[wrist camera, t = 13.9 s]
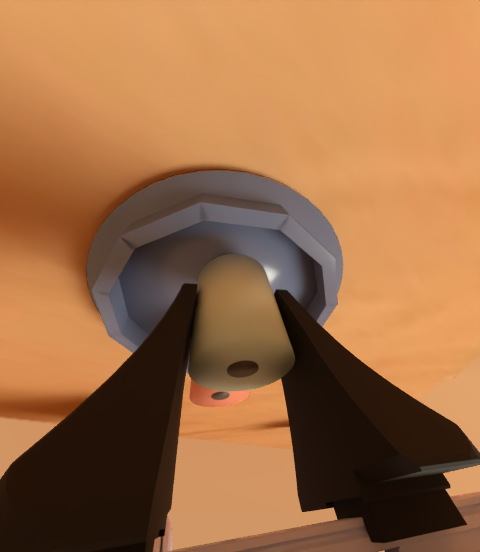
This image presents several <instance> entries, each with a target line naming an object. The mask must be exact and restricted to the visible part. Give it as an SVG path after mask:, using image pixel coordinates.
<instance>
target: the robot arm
mask: <svg viewBox="0 0 480 552" xmlns="http://www.w3.org/2000/svg"><path fill="white" fill-rule="evenodd" d="M274 297H275V300H276V303H277V306H278V309H279V311H280V314H281V317H282V320H283V323H284V326H285V329H286V332H287V334H288V337H289V340H290V343H291V346H292V349H293V352H294V355H295V363H294V365H293V367H292V369H291V370H290V371H289V372H288V373H287V374H286V375H285V376H283V377H282V378H281V380H282V384H283V389H284V395H285V400H286V406H287V412H288V418H289V424H290V431H291V438H292V445H293V453H294V462H295V471H296V479H297V490H298V497H299V502H300V506H301V510H302V512H307V511H314V510H320V509H327V508H333V507H334V510H335V513H336V516H337V519H338V520H334V521H329V522H324V523H318V524H312V525H307V526H301V527H296V528H291V529H285V530H280V531H274V532H269V533H263V534H258V535H253V536H247V537H242V538H237V539H231V540H226V541H220V542H215V543H210V544H204V545H198V546H193V547H188V548H182V549H177V550H172V528H171V523H170V521H169V519H168V516H167V514H168V512H169V511H170V509H171V504H172V494H173V484H174V474H175V463H176V454H177V445H178V436H179V426H180V417H181V408H182V399H183V390H184V382H185V376H186V371H187V366H188V360H189V355H190V349H191V340H192V331H193V321H194V314H195V307H196V298H197V284H190V283H184V284H183V285H182V286H181V289H180V291H179V293H178V294H177V296H176V298H175V300H174V301H173V303H172V304H171V306H170V307H169V309H168V310H167V312H166V313H165V315H164V316H163V318H162V319H161V320H160V322H159V323H158V324H157V325H156V327H155V328H154V329H153V331H152V332H151V333H150V334H149V336H148V337H147V338H146V339H145V340H144V342H143V343H142V344H141V345H140V346H139V347H138V348H137V350H136V351H135V352H134V353H133V354H132V355H131V356H130V357H129V358H128V359H127V360H126V361H125V362H124V363H123V364H122V366H121V367H120V368H119V369H118V370H117V371H116V372H115V373H114V374H113V375H112V376H111V377H110V378H109V379H108V380H107V381H106V382H105V383H103V384H102V385H101V386H100V387H99V388H98V389H97V390H96V391H95V392H94V393H93V394H92V395H90V396H89V397H88V398H87V399H86V400H85V401H84V402H83V403H82V404H81V405H80V406H78V407H77V408H76V409H75V410H74V411H73V412H72V413H71V414H70V415H68V416H67V417H66V418H65V419H64V420H63V421H61V422H60V423H59V424H58V425H57V426H55V427H54V428H53V429H52V430H51V431H50V432H48V433H47V434H46V435H45V436H44V437H42V439H40V440H39V441H38V442H36V443H35V444H34V445H33V446H32V447H30V448H29V449H28V450H27V451H26V452H25V453H23V454H22V455H21V456H20V457H19V458H17V459H16V460H15V461H14V462H13V463H12V464H11V465H10V466H9V468H8V469H7V471H6V472H5V473H4V475H3V476H2V478H1V479H0V552H378V551H383V550H385V552H480V492H477V493H469V494H463V495H457V496H452V497H450V496H449V495H448V493H447V491H446V490H445V489H447V488H450V484H449V482H448V481H447V479H446V478H445V476H444V475H443V473H445V472H450V471H455V470H459V469H464V468H468V467H472V466H476V465H480V453H479V451H478V450H477V449H476V448H475V446H474V445H473V444H472V442H471V441H470V440H469V439H468V437H467V436H466V435H465V434H464V433H463V431H462V430H461V429H460V428H459V426H458V425H456V424H455V423H453V422H452V421H450V420H448V419H447V418H445V417H444V416H442V415H440V414H439V413H437V412H435V411H433V410H432V409H430V408H429V407H427V406H425V405H424V404H422V403H420V402H419V401H417V400H416V399H414V398H413V397H411V396H410V395H408V394H407V393H405V392H404V391H402V390H401V389H399V388H398V387H396V386H395V385H393V384H392V383H390V382H389V381H387V380H386V379H384V378H383V377H382V376H380V375H379V374H378V373H376V372H375V371H374V370H372V369H371V368H370V367H368V366H367V365H365V364H364V363H363V362H362V361H360V360H359V359H358V358H357V357H355V356H354V355H353V354H352V353H350V352H349V351H348V350H347V349H346V348H345V347H343V346H342V345H341V344H340V343H339V342H338V341H336V340H335V339H334V338H333V337H332V336H331V335H330V334H329V333H328V332H327V331H326V330H325V329H324V328H323V327H322V326H321V325H320V324H319V323H318V322H317V321H316V320H315V319H314V318H313V317H312V316H311V315H310V314H309V313H308V312H307V311H306V310H305V309H304V308H303V307H302V306H301V304H300V303H299V302H298V301H297V300H296V299H295V298H294V297H293V296H292V295H291V294H290V293H289V292H288V291H287V290H281V289H276V290H275V293H274Z"/></svg>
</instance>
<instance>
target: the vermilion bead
mask: <svg viewBox="0 0 480 552" xmlns="http://www.w3.org/2000/svg"><path fill="white" fill-rule="evenodd" d="M249 395H250V390H244V391H217V390H212V389H208V388H205V387H203V386H200V385H198V384H197V383H195V382H194V381H193V380H192V379H191V388H190V400H191V401H192V402H193V403H195V404H197V405H200V406H205V407H223V406H229V405H233V404H236V403H239V402H241V401H243V400H245V399H246V398H247V397H248V396H249Z"/></svg>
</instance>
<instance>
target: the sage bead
mask: <svg viewBox="0 0 480 552" xmlns="http://www.w3.org/2000/svg"><path fill="white" fill-rule="evenodd" d="M294 363H295V355H294V352H293V349H292V346H291V343H290V340H289V337H288V334H287V332H286V329H285V326H284V323H283V320H282V317H281V314H280V311H279V309H278V306H277V303H276V300H275V297H274V294H273V291H272V288H271V285H270V283H269V280H268V277H267V274H266V271H265V269H264V267H263V266H262V265H261V264H260V263H259V262H258V261H257V260H255V259H254V258H252V257H249V256H246V255H242V254H227V255H222V256H219V257H217V258H215V259H213V260H211V261H210V262H208V263H207V264H206V265H205V266H204V267H203V269H202V270H201V272H200V274H199V277H198V285H197V298H196V307H195V314H194V321H193V331H192V340H191V349H190V358H189V367H188V373H189V375H190V377H191V379H192V380H193V381H194V382H195V383H197V384H198V385H200V386H203V387H205V388H208V389H212V390H217V391H244V390H250V389H255V388H259V387H263V386H265V385H268V384H271V383H273V382H275V381H277V380H279V379H280V378H282V377H283V376H285V375H286V374H287V373H288V372H289V371H290V370H291V369H292V367H293V365H294Z"/></svg>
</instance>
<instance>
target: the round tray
mask: <svg viewBox="0 0 480 552" xmlns="http://www.w3.org/2000/svg"><path fill="white" fill-rule="evenodd" d="M227 254H242V255H246V256H249V257H252V258H254V259H255V260H257V261H258V262H259V263H260V264H261V265H262V266H263V267H264V269H265V271H266V274H267V277H268V280H269V283H270V285H271V288H272V291H273V294H274V293H275V290H276V289H281V290H287V291H288V292H289V293H290V294H291V295H292V296H293V297H294V298H295V299H296V300H297V301H298V302H299V303H300V304H301V306H302V307H303V308H304V309H305V310H306V311H307V312H308V313H309V314H310V315H311V316H312V317H313V318H314V319H315V320H316V321H317V322H318V323H319V324H320V325H321V326H323V325H324V323H325V322H326V320H327V319H328V318H329V316H330V315H331V313H332V312H333V310H334V309H335V307H336V306H337V304H338V301H337V293H338V291H339V288H340V284H341V280H342V273H343V259H342V251H341V247H340V244H339V241H338V238H337V236H336V234H335V232H334V230H333V228H332V226H331V224H330V223H329V221H328V220H327V219H326V218H325V216H324V215H323V214H322V212H321V211H320V210H319V209H318V208H316V207H315V206H314V205H313V204H312V203H311V202H310V201H309V200H308V199H306V198H305V197H304V196H302V195H301V194H299V193H298V192H296V191H294V190H293V189H291V188H290V187H288V186H286V185H284V184H282V183H279V182H277V181H275V180H272V179H270V178H267V177H264V176H260V175H256V174H252V173H248V172H242V171H232V170H199V171H194V172H188V173H183V174H178V175H174V176H171V177H169V178H166V179H163V180H160V181H157V182H155V183H152V184H151V185H149V186H147V187H145V188H143V189H142V190H140V191H138V192H136V193H134V194H133V195H132V196H131V197H129V198H128V199H127V200H126V201H124V202H123V203H122V204H121V205H119V206H118V207H117V208H116V209H114V211H113V212H112V213H111V214H110V215H109V216H108V217H107V219H106V220H105V221H104V222H103V223H102V225H101V226H100V228H99V230H98V232H97V233H96V235H95V237H94V239H93V241H92V244H91V247H90V250H89V253H88V259H87V269H86V272H87V282H88V287H89V291H90V294H91V297H92V300H93V302H94V304H95V306H96V308H97V310H98V311H99V312H100V314H101V317H102V319H103V322H104V325H105V327H106V330H107V332H108V335H109V336H110V337H111V338H113V339H114V340H115V341H117V342H118V343H120V344H121V345H123V346H124V347H125V348H127V349H128V350H130V351H131V352H133V353H134V352H135V351H136V350H137V348H138V347H139V346H140V345H141V344H142V343H143V342H144V340H145V339H146V338H147V337H148V336H149V334H150V333H151V332H152V331H153V329H154V328H155V327H156V325H157V324H158V323H159V322H160V320H161V319H162V318H163V316H164V315H165V313H166V312H167V310H168V309H169V307H170V306H171V304H172V303H173V301H174V300H175V298H176V296H177V294H178V293H179V291H180V289H181V286H182V285H183V284H184V283H190V284H197V285H198V277H199V274H200V272H201V270H202V269H203V267H204V266H205V265H206V264H207V263H208V262H210V261H211V260H213V259H215V258H217V257H219V256H222V255H227ZM189 358H190V355H189ZM188 367H189V360H188V366H187V371H186V373H188Z"/></svg>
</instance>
